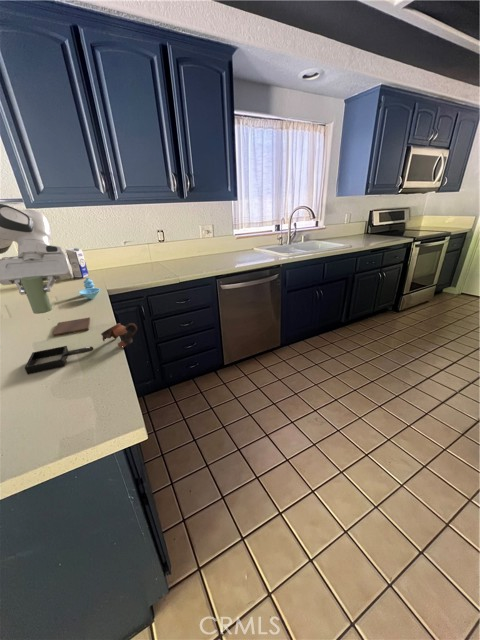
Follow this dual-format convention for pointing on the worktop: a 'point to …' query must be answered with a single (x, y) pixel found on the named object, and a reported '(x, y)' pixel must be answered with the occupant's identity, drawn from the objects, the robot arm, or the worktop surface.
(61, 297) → the worktop surface
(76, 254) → the milk carton
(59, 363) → the pan
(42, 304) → the pale green cylinder
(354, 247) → the worktop surface
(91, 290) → the blue conch shell
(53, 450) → the worktop surface
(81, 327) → the board
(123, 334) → the brown irregular piece
